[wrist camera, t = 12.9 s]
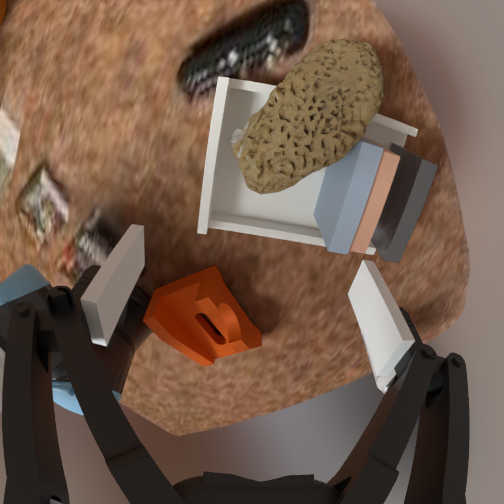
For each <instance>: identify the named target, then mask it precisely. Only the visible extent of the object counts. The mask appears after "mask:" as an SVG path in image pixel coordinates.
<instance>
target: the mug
mask: <svg viewBox="0 0 504 504" xmlns="http://www.w3.org/2000/svg"><path fill="white" fill-rule="evenodd" d="M6 8H7V4H6V0H0V26H1V24H2V22H3V19H4V17H5V13H6Z"/></svg>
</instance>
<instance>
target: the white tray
mask: <svg viewBox="0 0 504 504" xmlns="http://www.w3.org/2000/svg"><path fill="white" fill-rule="evenodd" d="M275 87H277V86H274V85H269V84H263V83H258V82H252V81H245V80H239V79H231V78H227V77H218V82H217V88H216V94H215V100H214V106H213V113H212V119H211V126H210V132H209V139H208V146H207V154H206V161H205V169H204V177H203V185H202V194H201V203H200V212H199V222H198V232H197V233H200V234H207V231H208V228H215V229H221V230H228V231H234V232H240V233H247V234H253V235H259V236H265V237H271V238H277V239H283V240H289V241H295V242H301V243H307V244H313V245H319V246H325V247H326V245H325V243H324V240H323V238H322V235H321V232H320V230H319V227H318V225H317V222H316V220H315V217H314V215H313V213H314V210H315V207H316V203H317V200H318V196H319V193H320V189H321V185H322V182H323V178H324V175H325V171H326V167H324V168H322V169H321V170H319V171H316V172H313V173H311V174H310V175H308V176H307V177H305V178H303V179H302V180H300V181H299V182H298V183H297V184H295V185H294V186H293V187H289V188H287V189H285V190H282V191H280V192H275V193H268V194H259V193H257V192H254V191H252V190H250V189H249V188H248V187H247V186H246V183H245V180H244V176H243V175H242V172H241V170H240V167H239V165H238V160H237V159H236V158H235V156H234V154H233V150H232V148H231V146H230V142H231V139H232V134H233V133H234V131H235V130H236V129H238V128H241V129H242V128H243V127H244V125H245V124H246V122H247V121H248V119H249V118H250V117H251V116H252V115H253V114H255V113H257V112H258V111H259V110H260V109H261V108H262V107H263V106H264V105H265V103H266V102H267V100H268V98H269V95H270V93H271V92H272V91H273V89H274V88H275ZM417 132H418V129H416V128H414V127H411V126H409V125H406V124H404V123H401V122H399V121H396V120H394V119H391V118H388V117H386V116H383V115H380V114H376V115H375V116H374V117H373V119H372V120H371V122H370V123H369V126H367V127H366V132H365V134H364V135H365V136H364V138H368V139H370V140H372V141H374V142H376V143H378V144H379V145H381V146H383V147H385V148H387V149H388V150H390V147H391V143H394V144H397V145H400V146H403V147H404V145H405V142H406V138H407V135H408V134H409V135H411V136H414V137H416V136H417ZM375 251H376V248H375V246H374V244H373V243H372V241H370V243H369V246H368V248H367V250H366V253H365V254H370V255H374V253H375ZM359 253H360V252H359Z"/></svg>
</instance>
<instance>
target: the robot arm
mask: <svg viewBox="0 0 504 504" xmlns="http://www.w3.org/2000/svg"><path fill="white" fill-rule="evenodd" d="M144 266H145V256H144V226H142V225H135V224H132V225H131V226H130V227H129V229H128V230H127V231H126V233H125V234H124V235H123V237H122V238H121V239H120V241H119V242H118V244H117V245H116V246H115V248H114V249H113V251H112V252H111V253H110V255H109V256H108V258H107V259H106V261H105V262H104V264H103V265H102V266H97V265H92V266H90V267H89V268H88V269H86V270H85V271H84V273H83V274H82V276H81V278H79V280H78V281H77V283H76V284H75V286H74V287H73V289H72V290H71V289H70V288H69V287H67V286H56V287H54V288H53V287H52V286H51V284H50V282H49V281H47V280H46V279H45V277H44V276H43V275H42V274H41V273H40V272H39V271H38V270H37V268H36V267H35V266H33V265H31V264H25V265H22V266H21V267H20V268H18V269H17V270H16V271H14V272H13V273H12V274H11V275H10V276H8V277H7V278H6V279H5V280H4V281H2V282H1V283H0V413H1V411H2V432H3V448H4V459H5V467H6V475H7V480H6V487H5V495H4V503H3V504H70V503H69V494H68V489H67V484H66V479H65V475H64V470H63V466H62V461H61V456H60V450H59V444H58V437H57V430H56V422H55V413H54V403H53V401H54V402H56V403H57V404H59V405H61V406H62V407H64V408H66V409H68V410H70V411H73V412H75V413H78V414H81V415H84V417H85V419H86V422H87V424H88V426H89V428H90V430H91V432H92V434H93V436H94V438H95V440H96V442H97V444H98V446H99V448H100V450H101V452H102V454H103V456H104V458H105V461H106V464H107V466H108V468H109V470H110V472H111V474H112V475H113V477H114V479H115V480H116V482H117V484H118V485H119V487H120V488H121V490H122V491H123V493H124V495H125V496H126V498H127V499H128V501H129V502H130V504H383V503H384V502H385V500H386V498H387V496H388V495H389V493H390V491H391V489H392V487H393V485H394V483H395V482H396V480H397V477H398V475H399V471H397V470H396V467H397V465H398V463H399V461H400V459H401V456H402V454H403V452H404V450H405V448H406V445H407V443H408V441H409V438H410V436H411V434H412V431H413V429H414V427H415V424H416V422H417V419H418V416H419V414H420V418H419V426H418V434H417V441H416V447H415V454H414V460H413V465H412V470H411V475H410V480H409V484H408V488H407V492H406V497H405V501H404V504H466V498H465V491H466V483H467V473H468V460H469V398H468V383H467V372H466V364H465V361H464V360H463V358H462V357H461V356H460V355H458V354H456V353H450V354H449V355H448V356H447V358H443V357H439V356H437V355H436V352H435V351H434V349H433V348H431V347H430V346H429V345H426V344H423V343H422V340H421V338H420V336H419V334H418V332H417V330H416V328H415V327H414V325H413V323H412V321H411V319H410V317H409V315H408V313H407V312H406V311H405V310H404V309H403V308H402V307H398V305H397V303H396V302H395V300H394V298H393V296H392V294H391V292H390V290H389V288H388V287H387V285H386V283H385V281H384V279H383V278H382V276H381V274H380V272H379V270H378V269H377V267H376V265H375V263H374V262H373V261H368V260H363V261H362V263H361V265H360V268H359V270H358V272H357V275H356V277H355V279H354V281H353V284H352V286H351V288H350V290H349V292H348V296H349V299H350V302H351V304H352V307H353V310H354V312H355V315H356V318H357V321H358V323H359V326H360V329H361V332H362V335H363V338H364V340H365V343H366V346H367V349H368V352H369V355H370V358H371V361H372V364H373V367H374V370H375V374H376V376H388V375H389V374H390V373H391V372H392V370H393V369H394V370H395V372H396V375H395V376H394V377H393V378H392V380H391V381H390V382H389V383H388V384H387V385H386V387H388V386H389V387H388V389H387V391H386V393H385V395H384V397H383V399H382V401H381V403H380V404H379V406H378V408H377V410H376V412H375V413H374V415H373V417H372V419H371V421H370V423H369V424H368V426H367V428H366V429H365V431H364V433H363V434H362V436H361V438H360V439H359V441H358V443H357V444H356V446H355V447H354V449H353V451H352V452H351V453H350V455H349V456H348V458H347V459H346V461H345V462H344V464H343V465H342V467H341V468H340V470H339V471H338V472H337V474H336V475H335V476H334V477H333V478H332V479H331V480H330V481H329V482H328V483H327V484H326V483H324V482H321V481H318V480H314V474H311V475H290V476H285V477H281V478H277V479H272V480H268V481H263V482H258V481H255V480H251V479H247V478H243V477H239V476H236V475H232V474H223V473H213V472H204V474H203V476H197V477H192V478H189V479H185V480H183V481H181V482H178V483H177V484H175V485H173V486H172V485H171V484H170V482H169V481H168V480H167V479H166V477H165V476H164V475H163V473H162V472H161V470H160V469H159V467H158V466H157V464H156V463H155V462H154V460H153V459H152V457H151V456H150V454H149V453H148V451H147V450H146V448H145V447H144V446H143V445H142V443H141V442H140V440H139V439H138V437H137V436H136V434H135V432H134V430H133V429H132V427H131V425H130V423H129V422H128V420H127V418H126V417H125V415H124V413H123V411H122V409H121V407H120V406H119V404H118V403H119V400H120V399H121V397H122V391H123V388H124V385H125V381H126V378H127V375H128V372H129V369H130V366H131V363H132V360H133V357H134V354H135V351H136V350H137V349H138V348H139V347H140V346H141V344H142V343H143V342H144V341H145V340H146V339H147V338H148V337H149V335H150V334H151V332H152V330H151V329H150V328H149V327H148V326H147V325H146V323H145V322H144V321H143V318H144V316H145V313H146V311H147V308H148V306H149V303H150V300H149V299H148V298H147V297H146V296H145V295H144V294H143V293H142V292H141V291H140V290H139V289H137V288H136V287H134V286H135V284H136V282H137V280H138V278H139V276H140V274H141V272H142V270H143V268H144Z"/></svg>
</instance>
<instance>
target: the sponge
mask: <svg viewBox="0 0 504 504" xmlns="http://www.w3.org/2000/svg"><path fill="white" fill-rule="evenodd" d="M382 68H383V67H382V66H381V64H380V61H379V58H378V55H377V53H376V50H375V48H373V47H372V46H371V45H370V44H369V43H367V42H362V43H359V42H353V41H352V42H349V41H348V40H345V39H341V40H336V42H335V41H334V40H331V41H328V42H326V43H324V44H322V45H319V46H317V47H316V48H315V49H313V50H312V51H311V52H310V53H309V54H308V55H307V56H306V57H304V58H303V59H302V60H301V61H300V62H299V63H298V64H296V65H295V66H294V67H293V68H292V69H291V70H290V71H289V73H288V74H287V75H286V77H285V79H284V80H283V81H282V82H281V83H280V84H279V85H278V86H277V87H275V88H274V89H273V91H272V92H271V93H270V95H269V98H268V100H267V102H266V103H265V105H264V106H263V107H262V108H261V109H260V110H259V111H258V112H257V113H255V114H253V115H252V116H251V117H250V118H249V119H248V121H247V122H246V124H245V125H244V127H243V128H242V129H241V128H238V129H236V130H235V131H234V133H233V134H232V139H231V142H230V146H231V148H232V150H233V154H234V156H235V158H236V159H237V160H238V165H239V167H240V170H241V172H242V175H243V176H244V180H245V183H246V186H247V187H248V188H249V189H250V190H252V191H254V192H257V193H259V194H268V193H275V192H280V191H282V190H285V189H287V188H289V187H293V186H294V185H295V184H297V183H298V182H299V181H300V180H302V179H303V178H305V177H307V176H308V175H310V174H311V173H313V172H316V171H319V170H321V169H322V168H324V167H328V166H330V165H332V164H334V163H336V162H338V161H340V160H341V159H342V158H344V157H345V155H346V154H347V153H348V151H350V150H351V149H352V148H353V147H354V146H355V145H356V144H357V143H358V142H359V140H360V139H362V138H363V137H364V136H365V135H364V134H365V132H366V127H367V126H369V123H370V122H371V120H372V119H373V117H374V116H375V115H376V114H377V113H378V111H379V107H380V105H381V102H382V98H383V97H384V90H383V82H384V80H383V72H382Z"/></svg>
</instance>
